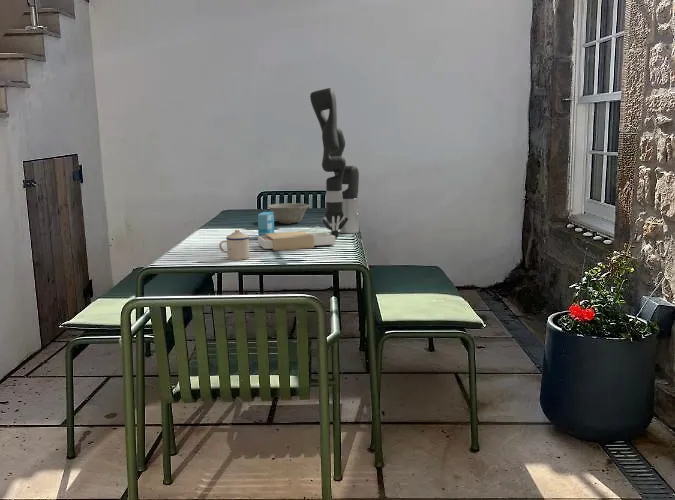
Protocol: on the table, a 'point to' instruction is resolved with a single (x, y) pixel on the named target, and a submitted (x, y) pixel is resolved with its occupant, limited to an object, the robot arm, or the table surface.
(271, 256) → the table surface
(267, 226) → the data package
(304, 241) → the mailer sleeve
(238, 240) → the teacup with lid
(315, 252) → the table surface
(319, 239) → the tray
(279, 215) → the ceramic bowl
